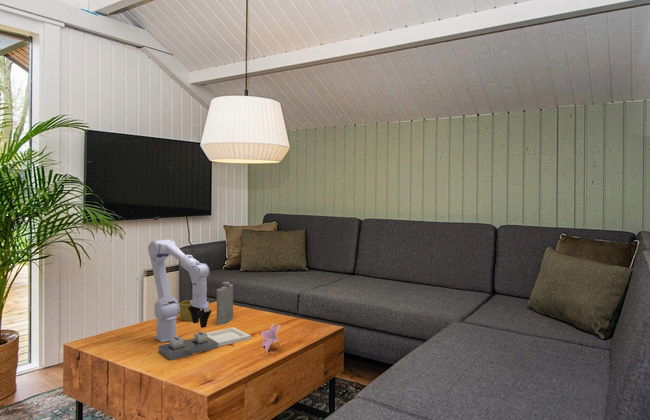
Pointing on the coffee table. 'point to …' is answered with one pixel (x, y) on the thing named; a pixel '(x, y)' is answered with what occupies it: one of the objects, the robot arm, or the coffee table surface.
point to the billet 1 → (176, 343)
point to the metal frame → (186, 349)
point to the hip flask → (225, 303)
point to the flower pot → (185, 310)
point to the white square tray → (228, 336)
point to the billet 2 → (200, 338)
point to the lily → (270, 336)
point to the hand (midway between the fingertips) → (199, 325)
